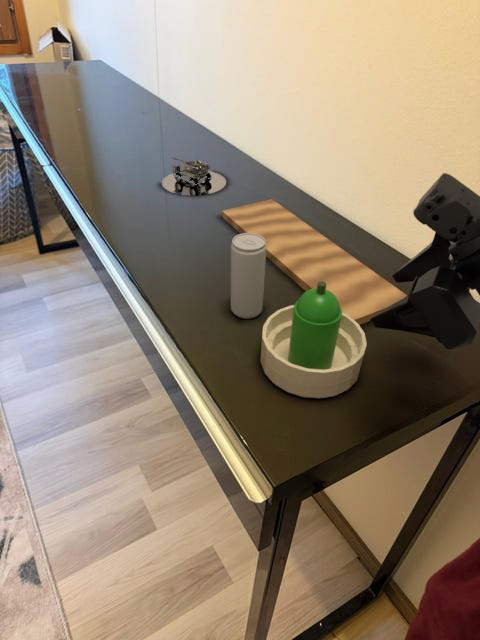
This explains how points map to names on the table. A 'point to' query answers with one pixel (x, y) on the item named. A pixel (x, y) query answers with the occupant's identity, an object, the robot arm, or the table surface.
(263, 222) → the cutting board
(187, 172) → the grey wheeled model
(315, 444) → the table surface
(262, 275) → the beverage can
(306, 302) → the green spray can
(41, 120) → the table surface
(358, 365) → the bowl
